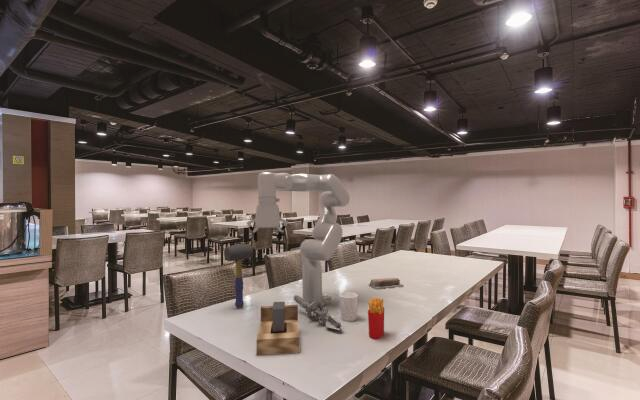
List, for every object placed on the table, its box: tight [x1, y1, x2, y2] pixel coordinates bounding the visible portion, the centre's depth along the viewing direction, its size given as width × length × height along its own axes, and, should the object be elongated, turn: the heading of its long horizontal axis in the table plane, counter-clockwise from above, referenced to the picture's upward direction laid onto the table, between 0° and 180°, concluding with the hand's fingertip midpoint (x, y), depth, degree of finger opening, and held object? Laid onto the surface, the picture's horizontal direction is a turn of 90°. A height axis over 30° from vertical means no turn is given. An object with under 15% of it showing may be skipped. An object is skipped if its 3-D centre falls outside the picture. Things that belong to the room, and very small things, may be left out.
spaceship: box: [293, 294, 343, 331], centre depth 133 cm, size 8×35×8 cm
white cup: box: [338, 291, 359, 322], centre depth 134 cm, size 8×8×10 cm
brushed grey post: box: [272, 301, 286, 333], centre depth 112 cm, size 4×8×13 cm, turn 5°
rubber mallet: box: [223, 243, 254, 309], centre depth 150 cm, size 12×8×30 cm, turn 132°
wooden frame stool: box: [256, 304, 301, 356], centre depth 112 cm, size 14×18×10 cm
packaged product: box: [367, 277, 404, 291], centre depth 184 cm, size 18×5×10 cm
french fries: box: [367, 297, 385, 340], centre depth 117 cm, size 9×4×13 cm, turn 145°
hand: (267, 241), depth 134 cm, fingers open, 9 cm apart
